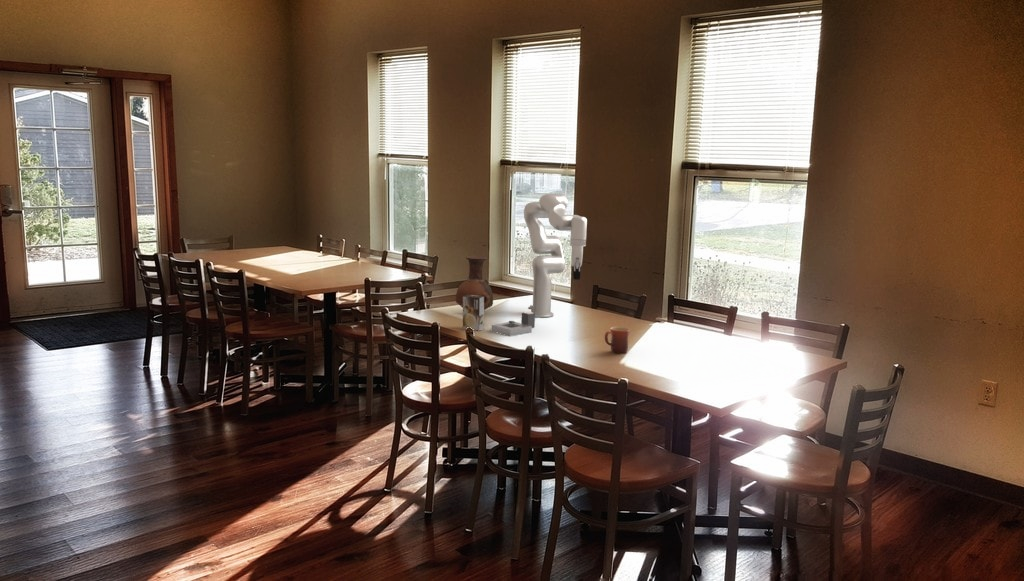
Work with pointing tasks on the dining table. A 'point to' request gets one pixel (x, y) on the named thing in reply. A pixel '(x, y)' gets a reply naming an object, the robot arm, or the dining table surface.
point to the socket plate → (511, 328)
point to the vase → (475, 283)
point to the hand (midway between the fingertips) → (576, 277)
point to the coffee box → (473, 312)
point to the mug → (618, 339)
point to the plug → (528, 318)
